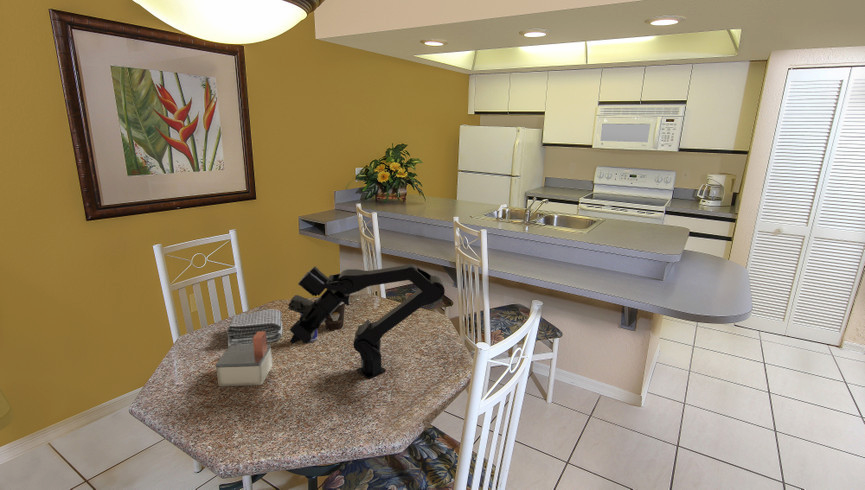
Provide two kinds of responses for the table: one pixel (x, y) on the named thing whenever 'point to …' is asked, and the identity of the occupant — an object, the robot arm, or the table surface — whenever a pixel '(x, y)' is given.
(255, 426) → the table surface
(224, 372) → the cream open box
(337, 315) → the coffee mug
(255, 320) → the towel
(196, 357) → the table surface
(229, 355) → the lid
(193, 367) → the table surface
